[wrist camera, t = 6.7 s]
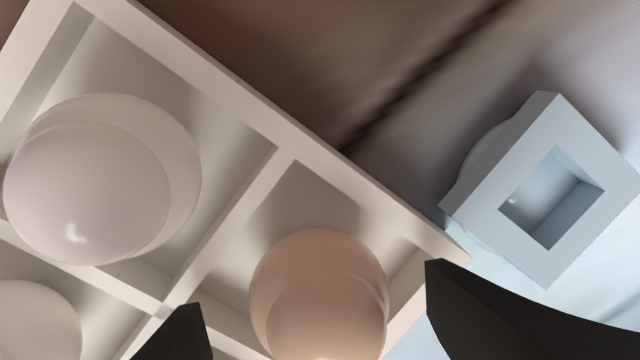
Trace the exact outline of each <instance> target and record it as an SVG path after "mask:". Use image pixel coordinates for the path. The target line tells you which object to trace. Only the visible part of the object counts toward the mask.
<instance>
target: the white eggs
mask: <svg viewBox="0 0 640 360" xmlns="http://www.w3.org/2000/svg"><path fill="white" fill-rule="evenodd" d="M201 186H202V168H201V162H200V157H199V154H198V151H197V148H196V146H195V144H194V142H193V140H192V138H191V136H190V135H189V133H188V132H187V130H186V129H185V128H184V127H183V125H182V124H181V123H180V122H179V121H178V120H177V119H176V118H175V117H174V116H172V115H171V114H170V113H169V112H167V111H166V110H165V109H163V108H161V107H160V106H158V105H156V104H154V103H152V102H150V101H148V100H145V99H143V98H140V97H136V96H133V95H129V94H124V93H116V92H97V93H88V94H83V95H78V96H76V97H73V98H70V99H67V100H64V101H62V102H60V103H58V104H56V105H54V106H52V107H51V108H49V109H48V110H47V111H45V112H44V113H42V114H41V115H40V116H38V117H37V118H36V119H35V120H34V121H33V122H32V123H31V124H30V126H29V127H28V128H27V130H26V131H25V133H24V134H23V135H22V137H21V139H20V141H19V143H18V145H17V147H16V149H15V152H14V156H13V158H12V160H11V162H10V164H9V166H8V168H7V171H6V174H5V177H4V182H3V189H2V195H3V204H4V209H5V212H6V215H7V218H8V220H9V222H10V224H11V226H12V228H13V229H14V231H15V232H16V234H17V235H18V236H19V237H20V238H21V240H22V241H23V242H24V243H26V244H27V245H28V246H29V247H30V248H32V249H33V250H34V251H36V252H37V253H39V254H41V255H43V256H45V257H47V258H49V259H51V260H54V261H57V262H60V263H65V264H69V265H76V266H97V265H105V264H110V263H114V262H117V261H120V260H123V259H128V258H133V257H137V256H140V255H142V254H145V253H148V252H150V251H152V250H154V249H156V248H158V247H160V246H161V245H163V244H164V243H166V242H167V241H169V240H170V239H171V238H172V237H174V236H175V235H176V234H177V233H178V232H179V231H180V230H181V229H182V228H183V226H184V225H185V224H186V223H187V221H188V220H189V218H190V217H191V215H192V213H193V212H194V210H195V207H196V205H197V203H198V199H199V195H200V192H201ZM82 343H83V336H82V328H81V324H80V320H79V318H78V316H77V314H76V312H75V310H74V308H73V307H72V305H71V304H70V303H69V302H68V300H67V299H65V298H64V297H63V296H62V295H61V294H59V293H58V292H57V291H55V290H53V289H52V288H50V287H48V286H45V285H43V284H40V283H37V282H34V281H29V280H21V279H0V360H80V357H81V352H82Z"/></svg>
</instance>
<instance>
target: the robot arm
mask: <svg viewBox="0 0 640 360" xmlns="http://www.w3.org/2000/svg"><path fill="white" fill-rule="evenodd" d="M424 267H425V290H426V312H427V316H428V318H429V321H430V323H431V325H432V327H433V329H434V331H435V333H436V336H437V338H438V340H439V342H440V343H441V345H442V347H443V348H444V350H445V351H446V353H447V355H448V356H449V358H450V359H451V360H640V333H639V332H635V331H630V330H625V329H621V328H617V327H613V326H609V325H605V324H601V323H598V322H594V321H591V320H587V319H584V318H580V317H577V316H574V315H571V314H567V313H564V312H562V311H559V310H556V309H553V308H550V307H548V306H545V305H542V304H539V303H537V302H534V301H532V300H529V299H527V298H525V297H522V296H520V295H518V294H515V293H513V292H511V291H509V290H506V289H504V288H502V287H500V286H498V285H496V284H494V283H492V282H490V281H488V280H486V279H484V278H482V277H480V276H478V275H476V274H474V273H472V272H470V271H468V270H466V269H464V268H463V267H461V266H459V265H457V264H455V263H453V262H451V261H449V260H446V259H444V258H438V259H432V260H427V261H424ZM129 360H213V353H212V349H211V345H210V341H209V338H208V334H207V330H206V326H205V322H204V318H203V315H202V311H201V307H200V303H199V302H194V303H188V304H183V305H179V306H178V307H177V308H176V309H175V310H174V311H173V312H172V313H171V314H170V316H169V317H168V318H167V319H166V320H165V321H164V322H163V323H162V325H161V326H160V327H159V328H158V329H157V330H156V331H155V332H154V334H153V335H152V336H151V337H150V338H149V339H148V340H147V341H146V342H145V344H144V345H143V346H142V347H141V348H140V349H139V350H138V351H137V352H136V353H135V354H134V355H133V356H132V357H131V358H130V359H129Z"/></svg>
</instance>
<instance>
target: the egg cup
mask: <svg viewBox="0 0 640 360" xmlns="http://www.w3.org/2000/svg"><path fill="white" fill-rule="evenodd" d="M639 193H640V174H639V173H638V172H637V171H636V170H635V169H634V168H633V167H632V166H631V165H630V164H629V163H628V162H627V161H626V160H625V159H624V158H623V157H622V156H621V155H620V154H619V153H618V152H617V151H616V150H615V149H614V148H613V147H612V146H611V145H610V144H609V143H608V142H607V141H606V140H605V139H604V138H603V136H602V135H601V134H600V133H599V132H598V131H597V130H596V129H595V128H594V127H593V126H592V125H591V124H590V123H589V122H588V121H587V120H586V119H585V118H584V117H583V116H582V115H581V114H580V113H579V112H578V111H577V110H576V109H575V108H574V107H573V106H572V105H571V104H570V103H569V102H568V101H567V100H566V99H565V98H564V97H563V96H562V95H561V94H560V93H556V92H548V91H539V90H536V91H535V92H534V93H533V94H532V95H531V97H530V98H529V99H528V100H527V101H526V102H525V104H524V105H523V106H522V107H521V108H520V109H519V111H518V112H517V113H516V114H515V115H514V116H513V117H512V118H509V119H507V120H505V121H503V122H501V123H499V124H497V125H496V126H494V127H493V128H491V129H490V130H489V131H488V132H486V133H485V134H484V135H483V136H482V137H481V138H480V139H479V140H478V141H477V142H476V143H475V144H474V146H473V147H472V148H471V150H470V151H469V153H468V154H467V156H466V158H465V159H464V161H463V163H462V165H461V168H460V170H459V173H458V176H457V179H456V184H455V185H454V186H453V187H452V189H451V190H450V191H449V192H448V193H447V194H446V196H445V197H444V198H443V199H442V200H441V201H440V203H439V204H438V205H437V206H438V207H439V208H441V209H442V210H443V211H444V212H445V213H446V214H447V215H449V216H450V217H451V218H452V219H454V220H455V221H456V222H457V223H459V224H460V225H461V226H462V228H463V229H464V231H465V232H466V233H467V235H468V236H469V237H470V238H471V239H472V240H474V241H475V242H476V243H477V244H478V245H479V246H480V247H482V248H483V249H485V250H487V251H489V252H491V253H493V254H496V255H500V256H502V257H503V258H504V259H506V260H507V261H508V262H510V263H511V264H512V265H513V266H515V267H516V268H517V269H519V270H520V271H521V272H523V273H524V274H525V275H526V276H528V277H529V278H530V279H532V280H533V281H534V282H536V283H537V284H538V285H539V286H541V287H542V288H543V289H545V290H547V289H548V288H549V287H550V286H551V285H552V284H553V283H554V282H555V280H556V279H557V278H558V277H559V276H560V275H561V274H562V273H563V272H564V271H565V270H566V269H567V268H568V267H569V266H570V265H571V264H572V263H573V262H574V261H575V260H576V259H577V258H578V257H579V256H580V255H581V253H582V252H583V251H584V250H585V249H586V248H587V247H588V246H589V245H590V244H591V243H592V242H593V241H594V240H595V239H596V238H597V237H598V236H599V235H600V234H601V233H602V232H603V231H604V230H605V229H606V227H607V226H608V225H609V224H610V223H611V222H612V221H613V220H614V219H615V218H616V217H617V216H618V215H619V214H620V213H621V212H622V211H623V210H624V209H625V208H626V207H627V206H628V205H629V204H630V203H631V202H632V200H633V199H634V198H635V197H636V196H637V195H638V194H639Z"/></svg>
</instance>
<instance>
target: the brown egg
mask: <svg viewBox="0 0 640 360" xmlns="http://www.w3.org/2000/svg"><path fill="white" fill-rule="evenodd" d="M248 306H249V314H250V319H251V323H252V326H253V329H254V331H255V333H256V335H257V337H258V339H259V341H260V342H261V344H262V345H263V347H264V348H265V349H266V350H267V351H268V352H269V353H270V355H272V356H273V358H274V359H275V360H378V359H379V357H380V355H381V353H382V351H383V348H384V345H385V341H386V336H387V318H388V314H389V288H388V283H387V279H386V276H385V273H384V271H383V269H382V267H381V265H380V263H379V261H378V259H377V258H376V256H375V255H374V254H373V253H372V251H371V250H370V249H369V248H368V247H367V246H366V245H365V244H364V243H362V242H361V241H360V240H358V239H357V238H356V237H354V236H352V235H350V234H349V233H346V232H344V231H341V230H338V229H334V228H329V227H310V228H304V229H300V230H297V231H294V232H292V233H290V234H288V235H286V236H284V237H282V238H281V239H279V240H278V241H276V242H275V243H274V244H273V245H272V246H271V247H270V248H269V249H268V250H267V251H266V252H265V254H264V255H263V256H262V258H261V259H260V261H259V262H258V264H257V266H256V268H255V270H254V273H253V276H252V279H251V282H250V287H249V294H248Z"/></svg>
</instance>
